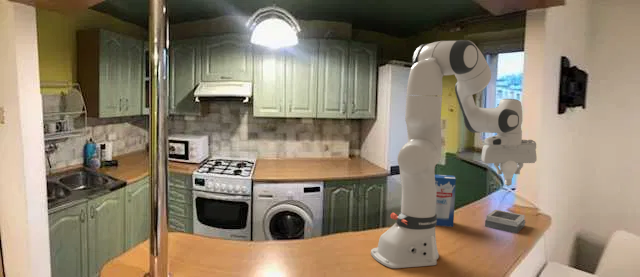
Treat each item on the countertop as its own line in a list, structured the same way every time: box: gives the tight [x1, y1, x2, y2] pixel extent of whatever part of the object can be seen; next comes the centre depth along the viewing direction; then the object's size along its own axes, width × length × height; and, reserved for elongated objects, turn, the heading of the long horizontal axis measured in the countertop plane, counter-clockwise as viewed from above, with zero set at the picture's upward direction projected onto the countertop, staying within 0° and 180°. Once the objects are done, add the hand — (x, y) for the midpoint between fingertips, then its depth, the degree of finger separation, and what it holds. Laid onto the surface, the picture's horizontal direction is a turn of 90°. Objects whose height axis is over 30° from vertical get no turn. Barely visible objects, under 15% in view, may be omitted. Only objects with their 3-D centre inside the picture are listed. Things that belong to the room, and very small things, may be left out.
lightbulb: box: [499, 161, 519, 187], centre depth 150 cm, size 6×6×11 cm
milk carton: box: [435, 174, 457, 228], centre depth 156 cm, size 10×6×20 cm, turn 76°
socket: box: [484, 209, 526, 234], centre depth 154 cm, size 12×12×4 cm
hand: (508, 174), depth 151 cm, fingers closed on lightbulb, 5 cm apart
